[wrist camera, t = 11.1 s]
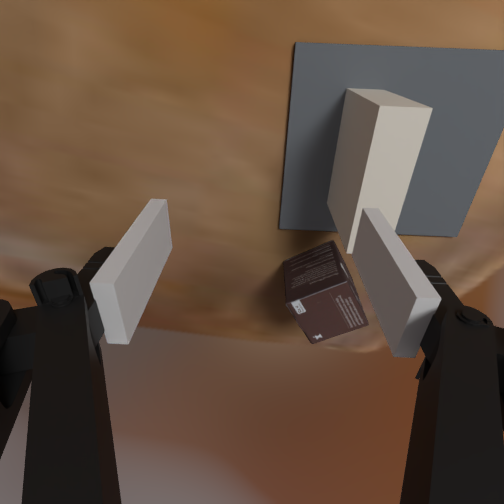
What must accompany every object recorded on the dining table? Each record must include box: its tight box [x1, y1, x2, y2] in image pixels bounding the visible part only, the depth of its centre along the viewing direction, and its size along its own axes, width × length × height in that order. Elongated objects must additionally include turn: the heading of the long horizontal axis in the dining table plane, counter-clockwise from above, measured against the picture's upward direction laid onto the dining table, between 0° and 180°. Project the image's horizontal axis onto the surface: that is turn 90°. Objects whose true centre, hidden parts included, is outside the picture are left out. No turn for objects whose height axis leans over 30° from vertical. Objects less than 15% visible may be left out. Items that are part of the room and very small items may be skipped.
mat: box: [279, 42, 504, 237], centre depth 29 cm, size 18×16×1 cm
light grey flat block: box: [327, 88, 433, 254], centre depth 25 cm, size 3×10×9 cm, turn 178°
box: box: [283, 241, 369, 344], centre depth 33 cm, size 6×6×7 cm
